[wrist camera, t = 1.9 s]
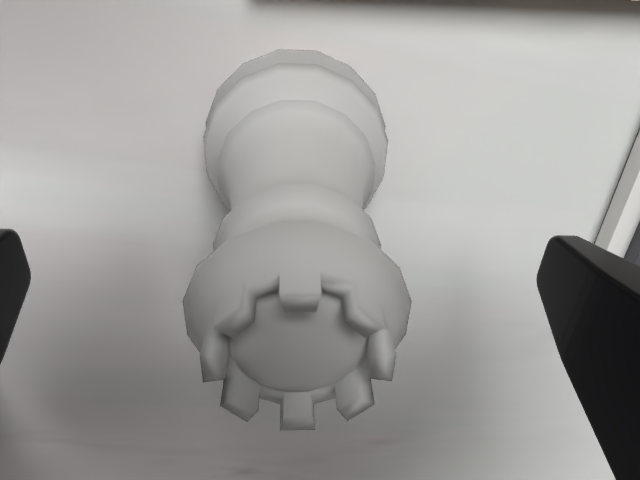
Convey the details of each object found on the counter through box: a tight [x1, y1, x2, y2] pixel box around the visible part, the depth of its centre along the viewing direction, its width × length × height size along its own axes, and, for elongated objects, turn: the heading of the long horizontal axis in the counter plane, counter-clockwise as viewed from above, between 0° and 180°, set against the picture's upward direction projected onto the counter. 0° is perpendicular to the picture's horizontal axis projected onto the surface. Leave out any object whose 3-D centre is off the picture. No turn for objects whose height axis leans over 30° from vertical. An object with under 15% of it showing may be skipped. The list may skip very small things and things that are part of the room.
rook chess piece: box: [183, 49, 411, 430], centre depth 10 cm, size 4×4×8 cm
